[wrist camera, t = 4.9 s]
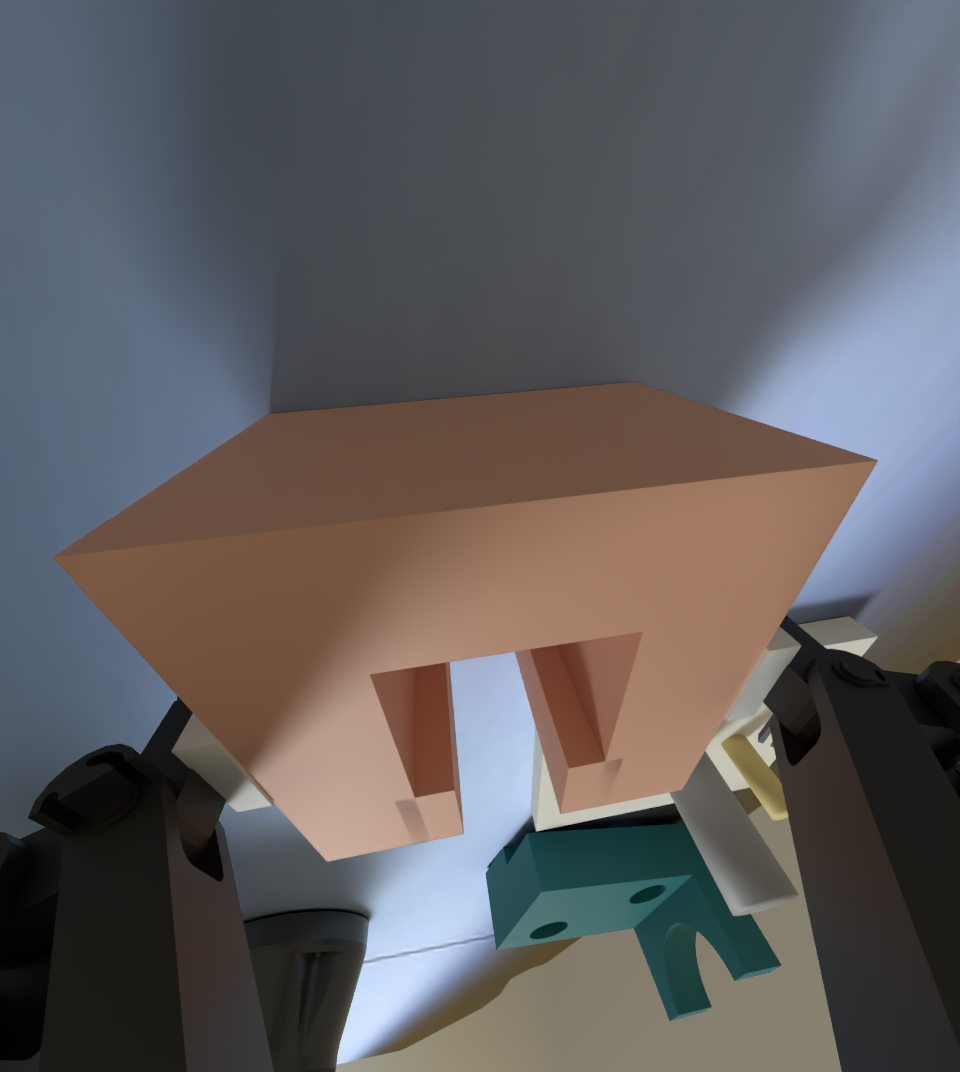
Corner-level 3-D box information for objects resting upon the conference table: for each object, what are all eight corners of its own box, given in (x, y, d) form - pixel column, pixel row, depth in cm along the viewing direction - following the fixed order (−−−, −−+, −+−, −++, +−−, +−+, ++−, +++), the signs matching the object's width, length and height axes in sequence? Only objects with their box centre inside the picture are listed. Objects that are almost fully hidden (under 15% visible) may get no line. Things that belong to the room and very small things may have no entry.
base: (530, 808, 28) (568, 976, 21) (539, 666, 18) (616, 894, 11) (737, 766, 30) (838, 910, 22) (848, 616, 20) (1089, 786, 13)
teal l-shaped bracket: (685, 805, 35) (781, 965, 26) (635, 859, 39) (702, 1012, 30) (522, 812, 30) (570, 1014, 21) (485, 873, 34) (512, 1062, 25)
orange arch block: (268, 413, 10) (52, 557, 4) (633, 382, 11) (877, 460, 5) (361, 660, 16) (327, 861, 10) (591, 625, 17) (681, 789, 11)
